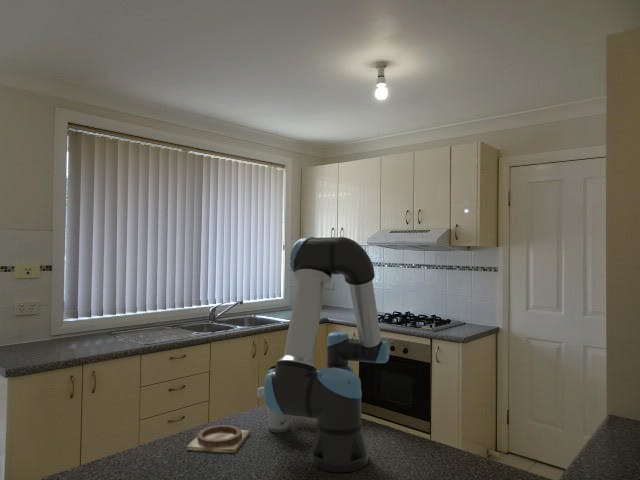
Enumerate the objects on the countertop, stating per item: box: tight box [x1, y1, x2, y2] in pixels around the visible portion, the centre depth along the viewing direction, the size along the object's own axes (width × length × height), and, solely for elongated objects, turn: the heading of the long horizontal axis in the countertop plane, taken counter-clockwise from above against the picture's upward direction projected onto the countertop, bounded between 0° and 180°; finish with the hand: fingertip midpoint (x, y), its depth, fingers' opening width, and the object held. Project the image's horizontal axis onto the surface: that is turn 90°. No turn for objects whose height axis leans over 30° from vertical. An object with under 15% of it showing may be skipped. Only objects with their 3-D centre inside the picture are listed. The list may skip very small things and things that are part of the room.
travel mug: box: [268, 365, 290, 434], centre depth 148 cm, size 6×7×20 cm
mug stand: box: [186, 424, 251, 454], centre depth 138 cm, size 14×14×2 cm
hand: (268, 396), depth 145 cm, fingers open, 10 cm apart
